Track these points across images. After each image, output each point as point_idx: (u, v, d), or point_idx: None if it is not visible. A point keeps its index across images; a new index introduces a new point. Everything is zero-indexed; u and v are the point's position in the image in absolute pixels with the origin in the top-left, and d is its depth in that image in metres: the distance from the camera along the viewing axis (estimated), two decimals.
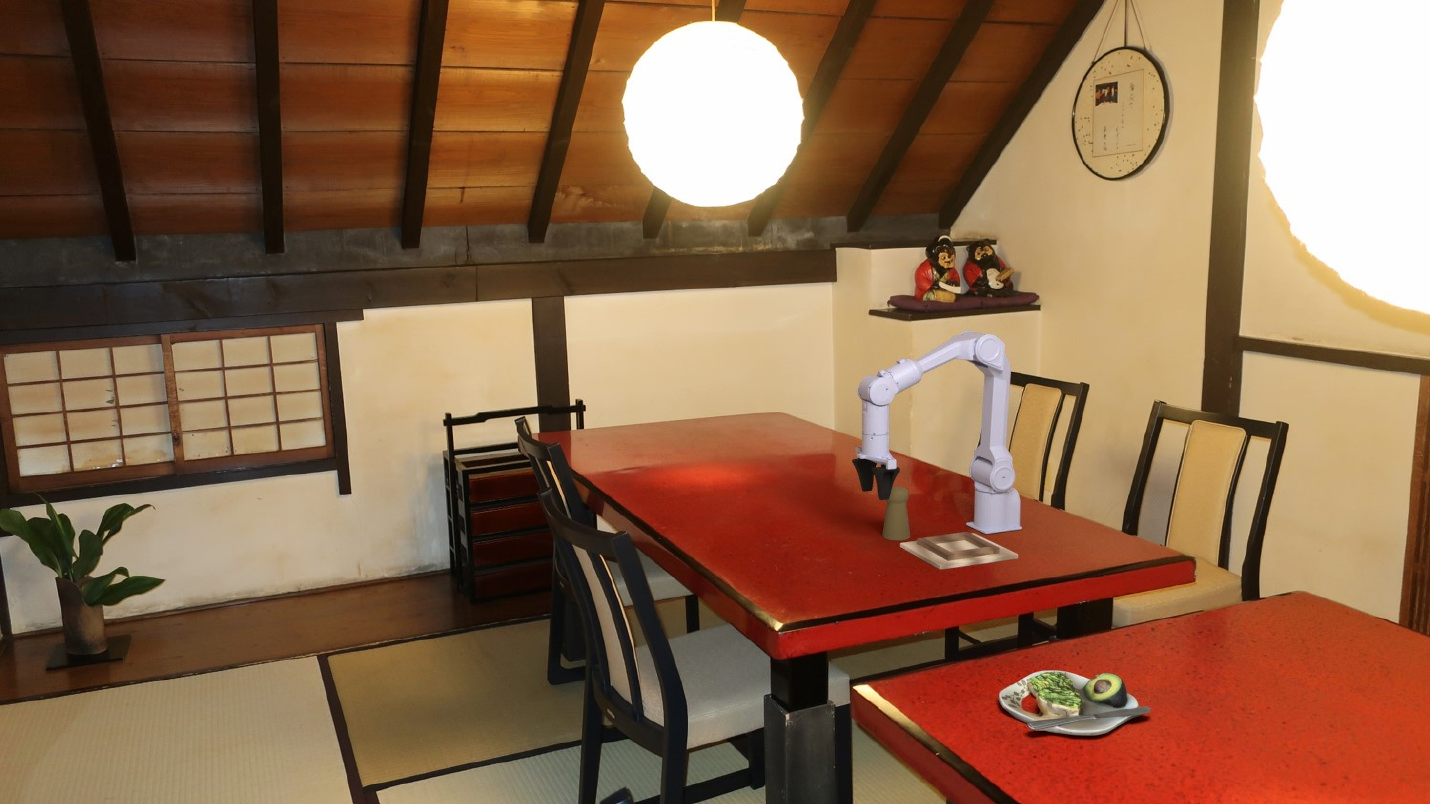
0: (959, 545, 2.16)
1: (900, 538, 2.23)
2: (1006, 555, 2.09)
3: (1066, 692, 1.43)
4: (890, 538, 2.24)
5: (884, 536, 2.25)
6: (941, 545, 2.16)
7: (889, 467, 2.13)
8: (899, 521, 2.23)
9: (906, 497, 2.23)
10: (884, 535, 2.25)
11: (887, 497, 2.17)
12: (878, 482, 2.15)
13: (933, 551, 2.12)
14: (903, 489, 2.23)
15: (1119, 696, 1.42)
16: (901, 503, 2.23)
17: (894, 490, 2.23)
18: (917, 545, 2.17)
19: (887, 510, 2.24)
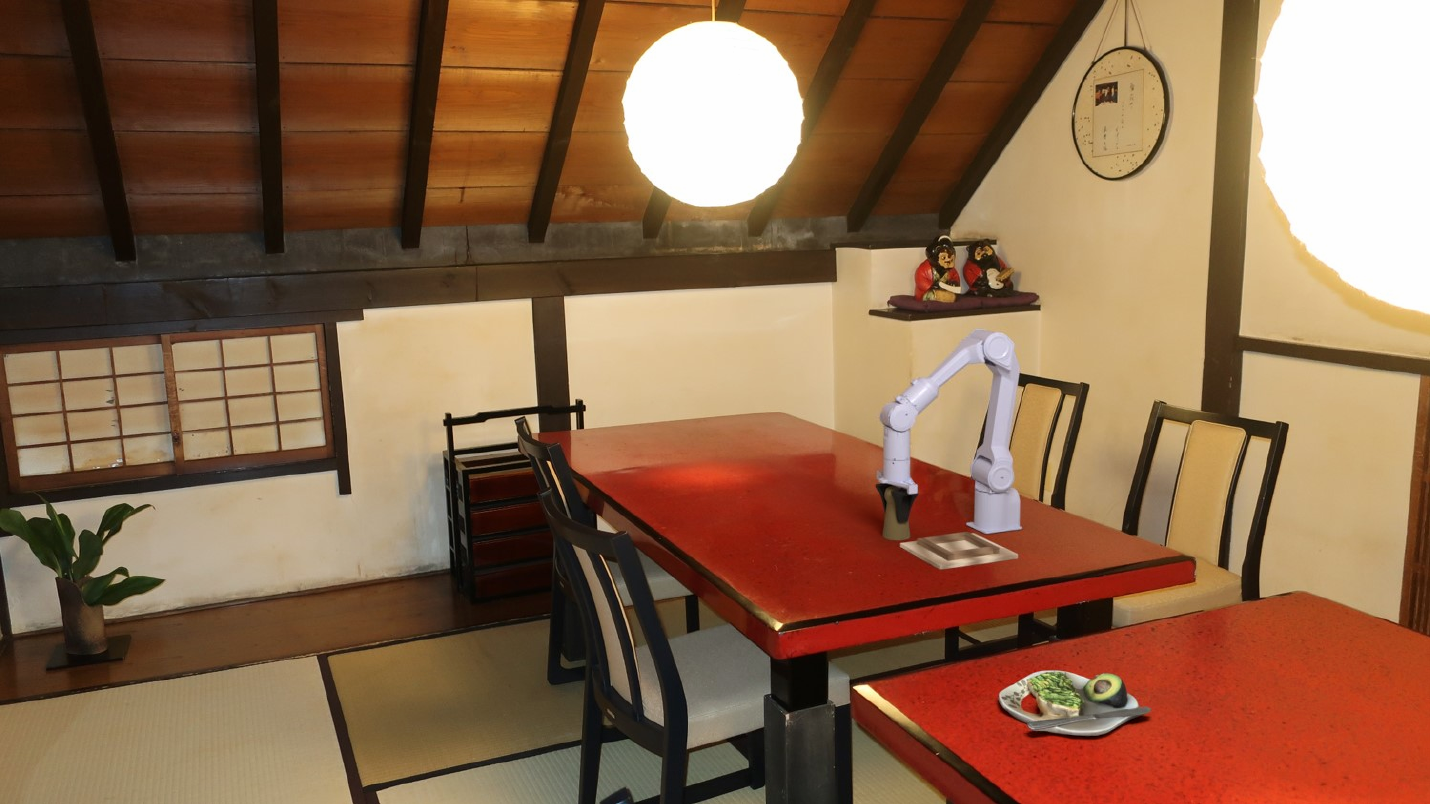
0: (959, 545, 2.16)
1: (900, 538, 2.23)
2: (1006, 555, 2.09)
3: (1066, 692, 1.43)
4: (890, 538, 2.24)
5: (884, 536, 2.25)
6: (941, 545, 2.16)
7: (910, 492, 2.17)
8: None
9: None
10: (884, 535, 2.25)
11: (906, 520, 2.23)
12: (897, 505, 2.21)
13: (933, 551, 2.12)
14: None
15: (1118, 696, 1.42)
16: None
17: (894, 490, 2.23)
18: (917, 545, 2.17)
19: (887, 510, 2.24)
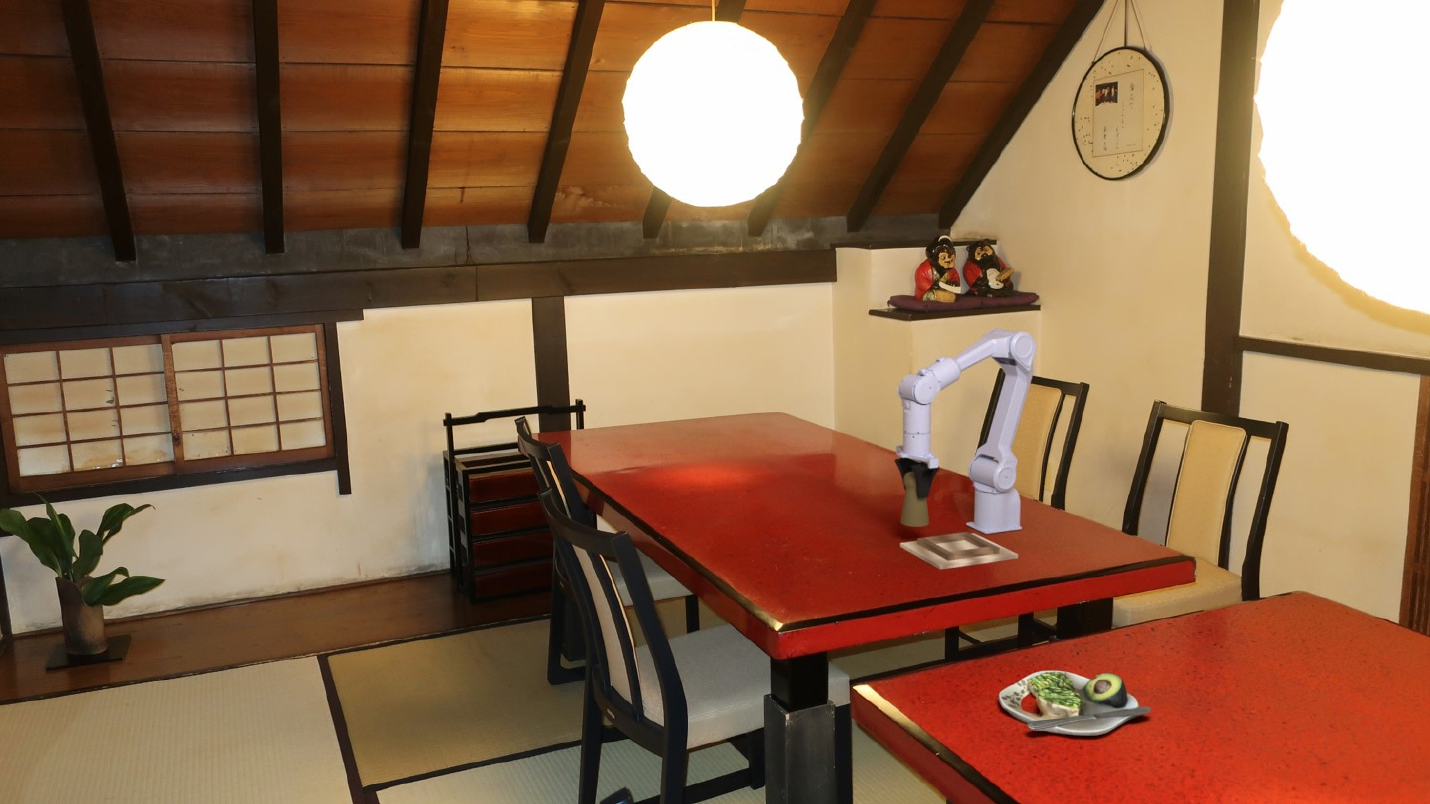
0: (959, 545, 2.16)
1: (918, 524, 2.19)
2: (1006, 555, 2.09)
3: (1066, 692, 1.43)
4: (908, 524, 2.19)
5: (902, 522, 2.21)
6: (941, 545, 2.16)
7: (931, 466, 2.12)
8: (917, 507, 2.18)
9: None
10: (902, 521, 2.21)
11: (926, 495, 2.18)
12: (917, 480, 2.16)
13: (933, 551, 2.12)
14: None
15: (1118, 696, 1.42)
16: None
17: (913, 475, 2.18)
18: (917, 545, 2.17)
19: (905, 496, 2.20)
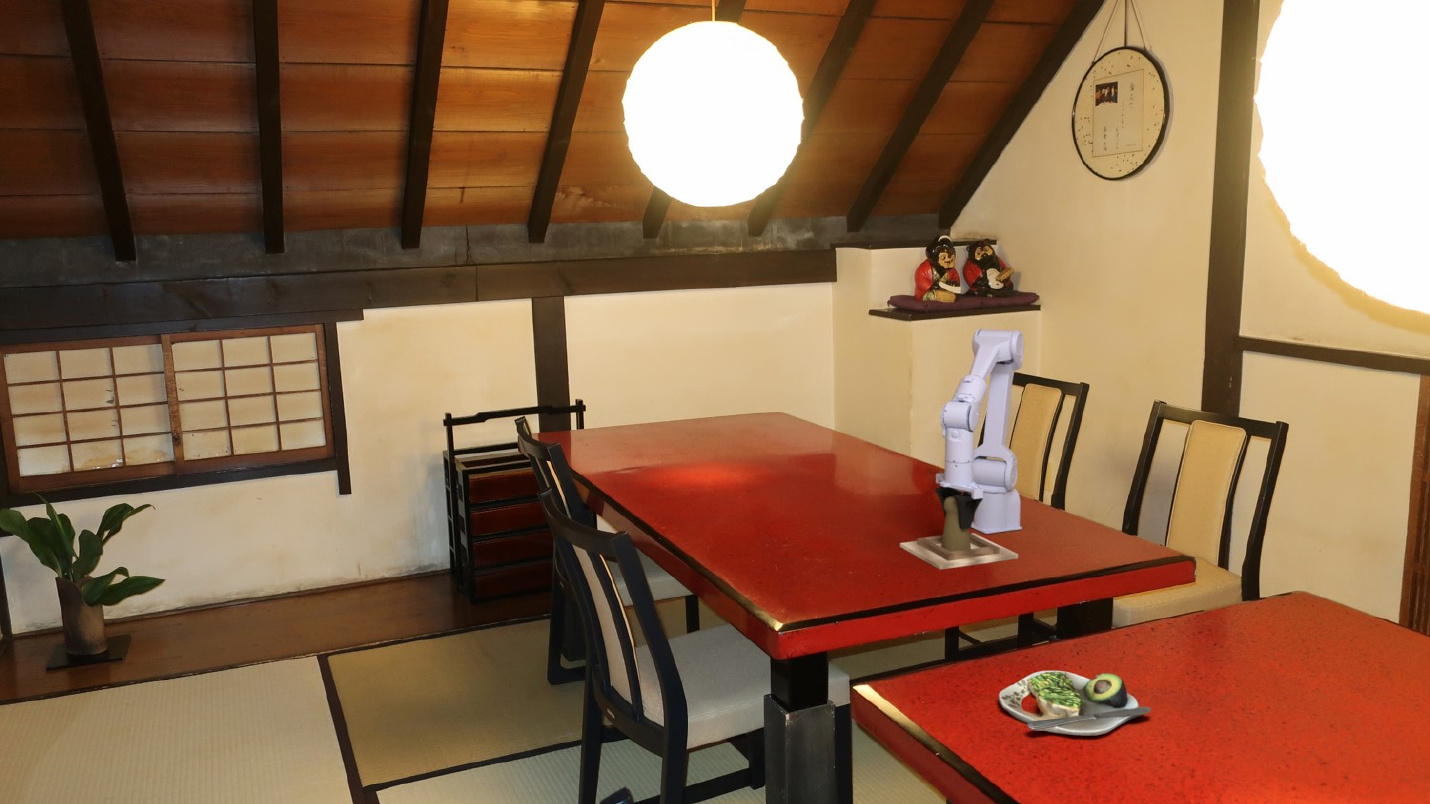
0: None
1: None
2: (1006, 555, 2.09)
3: (1066, 692, 1.43)
4: None
5: None
6: None
7: (975, 497, 2.05)
8: (959, 533, 2.11)
9: None
10: (943, 547, 2.13)
11: (969, 526, 2.10)
12: (960, 510, 2.08)
13: (933, 551, 2.12)
14: None
15: (1119, 696, 1.42)
16: None
17: (954, 500, 2.10)
18: (917, 545, 2.17)
19: (946, 521, 2.12)
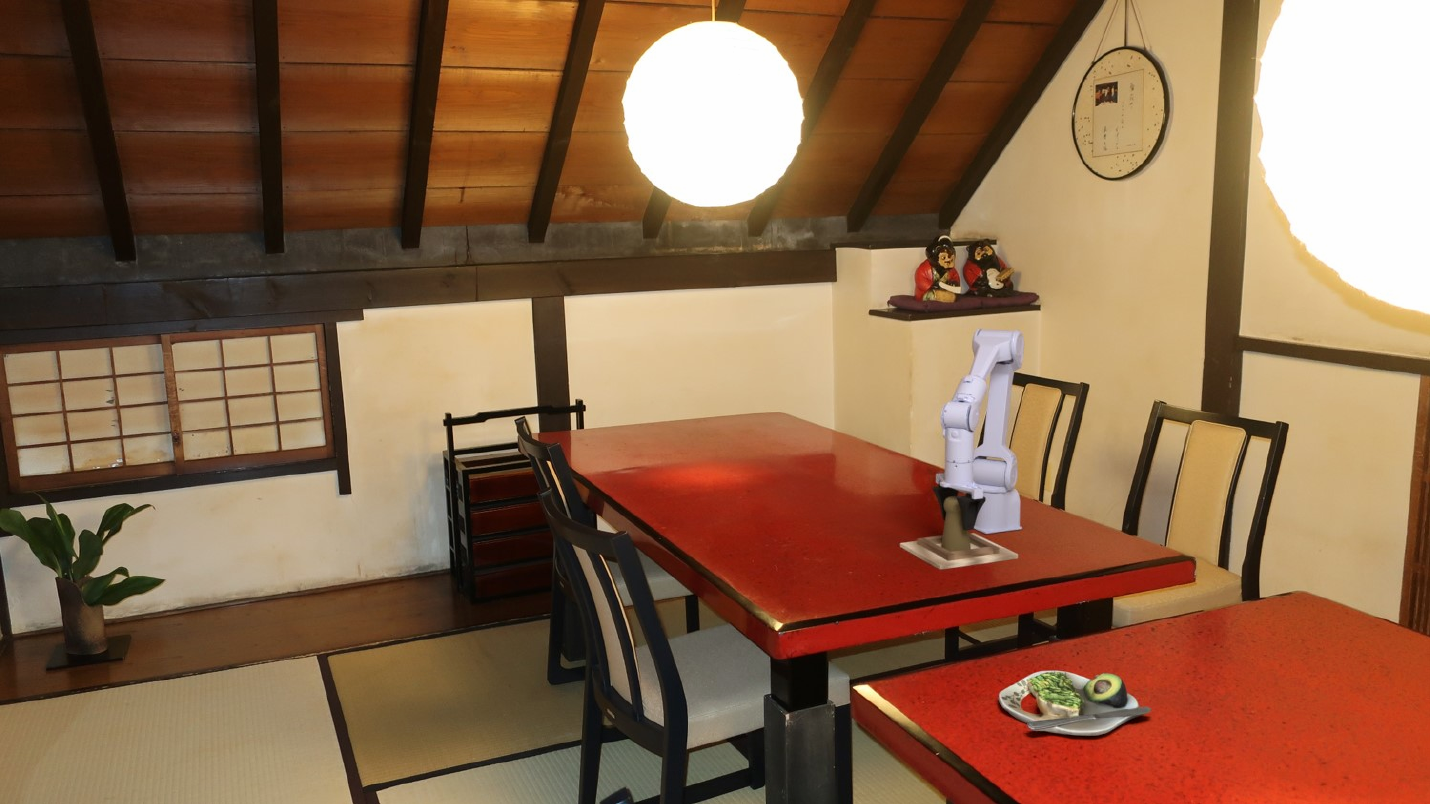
0: None
1: None
2: (1006, 555, 2.09)
3: (1066, 692, 1.43)
4: None
5: None
6: None
7: (975, 497, 2.05)
8: (959, 533, 2.11)
9: None
10: (943, 547, 2.13)
11: (972, 527, 2.09)
12: (963, 511, 2.08)
13: (933, 551, 2.12)
14: None
15: (1118, 696, 1.42)
16: None
17: (954, 500, 2.11)
18: (917, 545, 2.17)
19: (946, 521, 2.12)
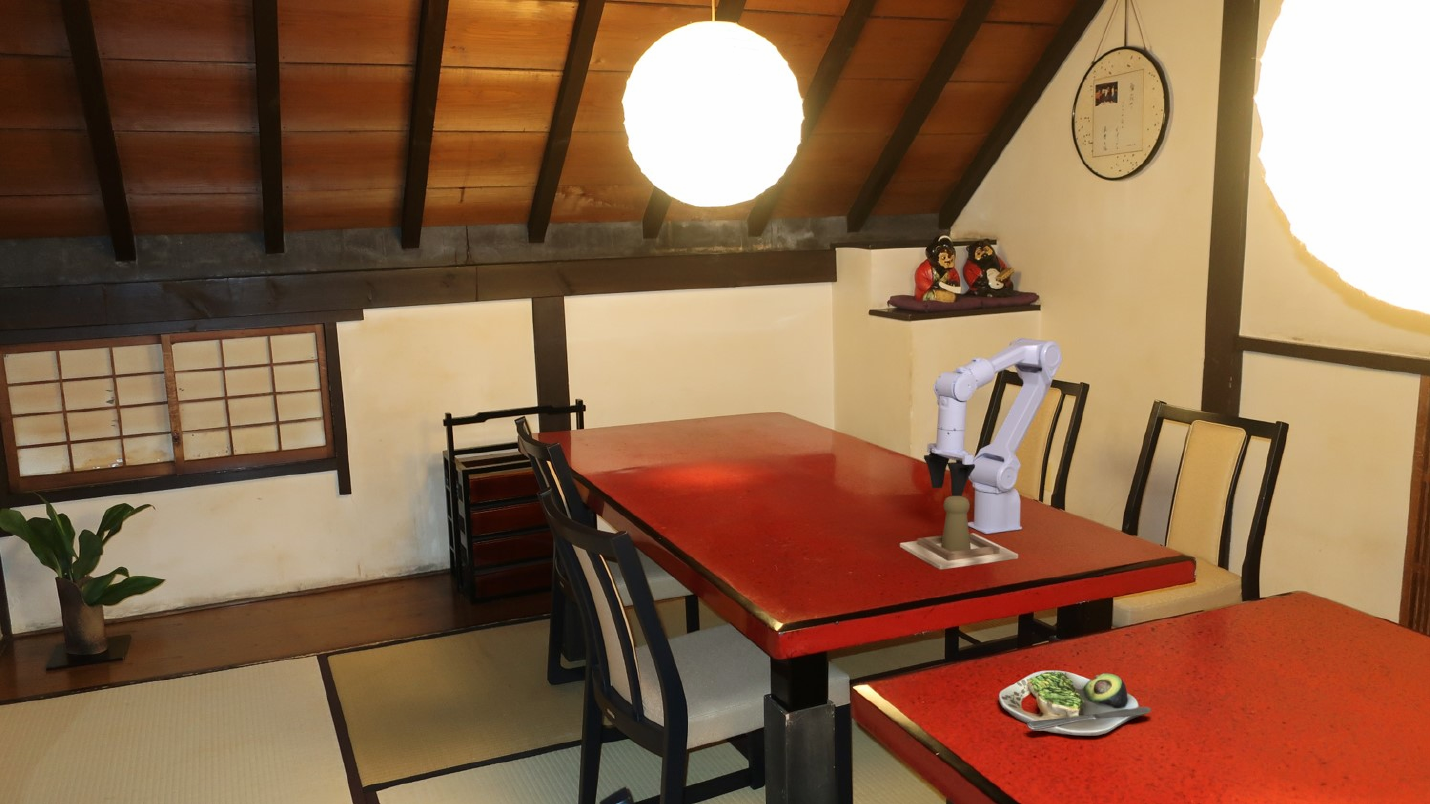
0: None
1: None
2: (1006, 555, 2.09)
3: (1066, 692, 1.43)
4: None
5: None
6: None
7: (966, 462, 2.14)
8: (959, 533, 2.11)
9: (966, 508, 2.10)
10: (943, 547, 2.13)
11: (960, 493, 2.18)
12: (953, 477, 2.16)
13: (933, 551, 2.12)
14: (964, 499, 2.11)
15: (1119, 696, 1.42)
16: (962, 514, 2.11)
17: (954, 500, 2.11)
18: (917, 545, 2.17)
19: (946, 521, 2.12)
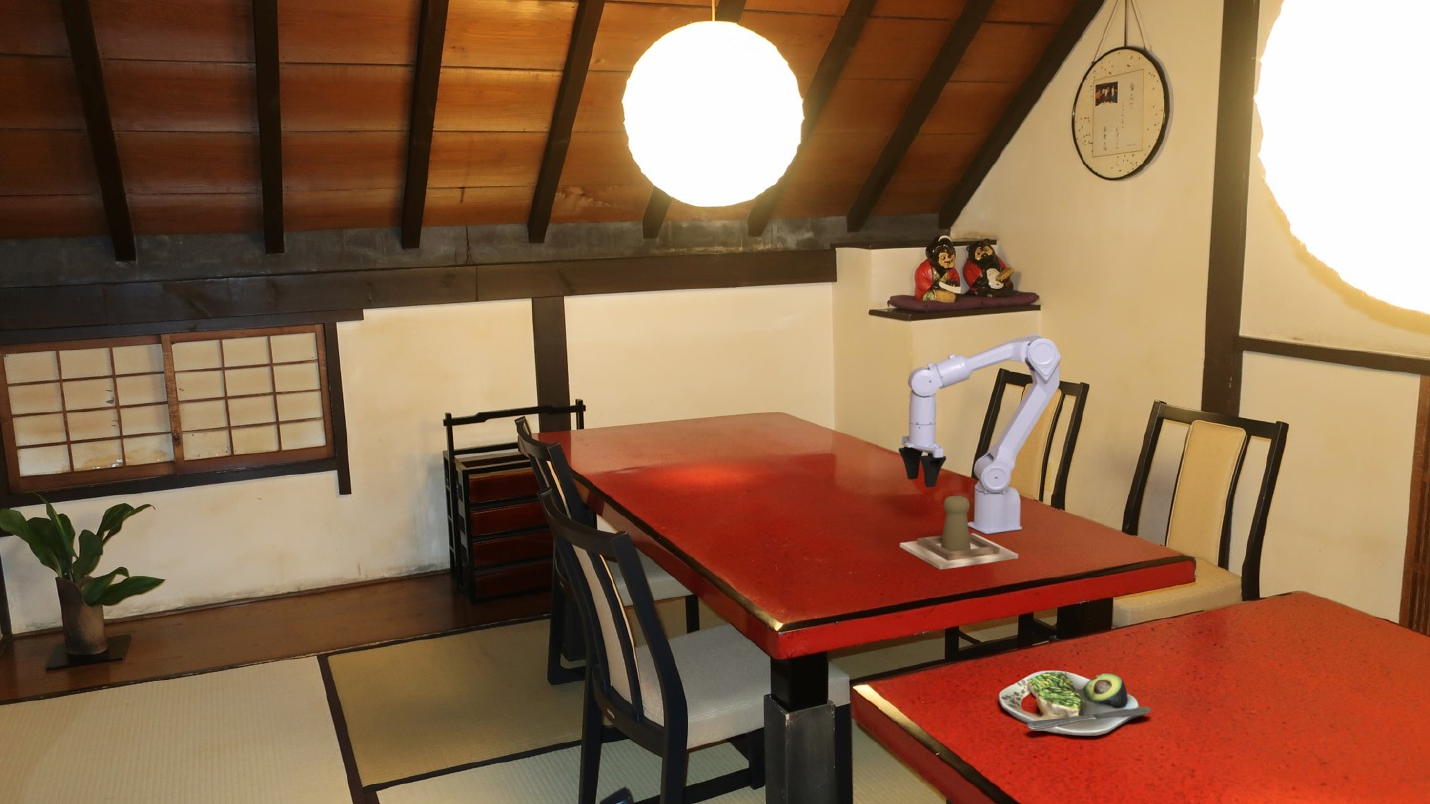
0: None
1: None
2: (1006, 555, 2.09)
3: (1066, 692, 1.43)
4: None
5: None
6: None
7: (936, 455, 2.22)
8: (959, 533, 2.11)
9: (966, 508, 2.10)
10: (943, 547, 2.13)
11: (933, 484, 2.26)
12: (925, 469, 2.24)
13: (933, 551, 2.12)
14: (964, 499, 2.11)
15: (1119, 696, 1.42)
16: (962, 514, 2.11)
17: (954, 500, 2.11)
18: (917, 545, 2.17)
19: (946, 521, 2.12)
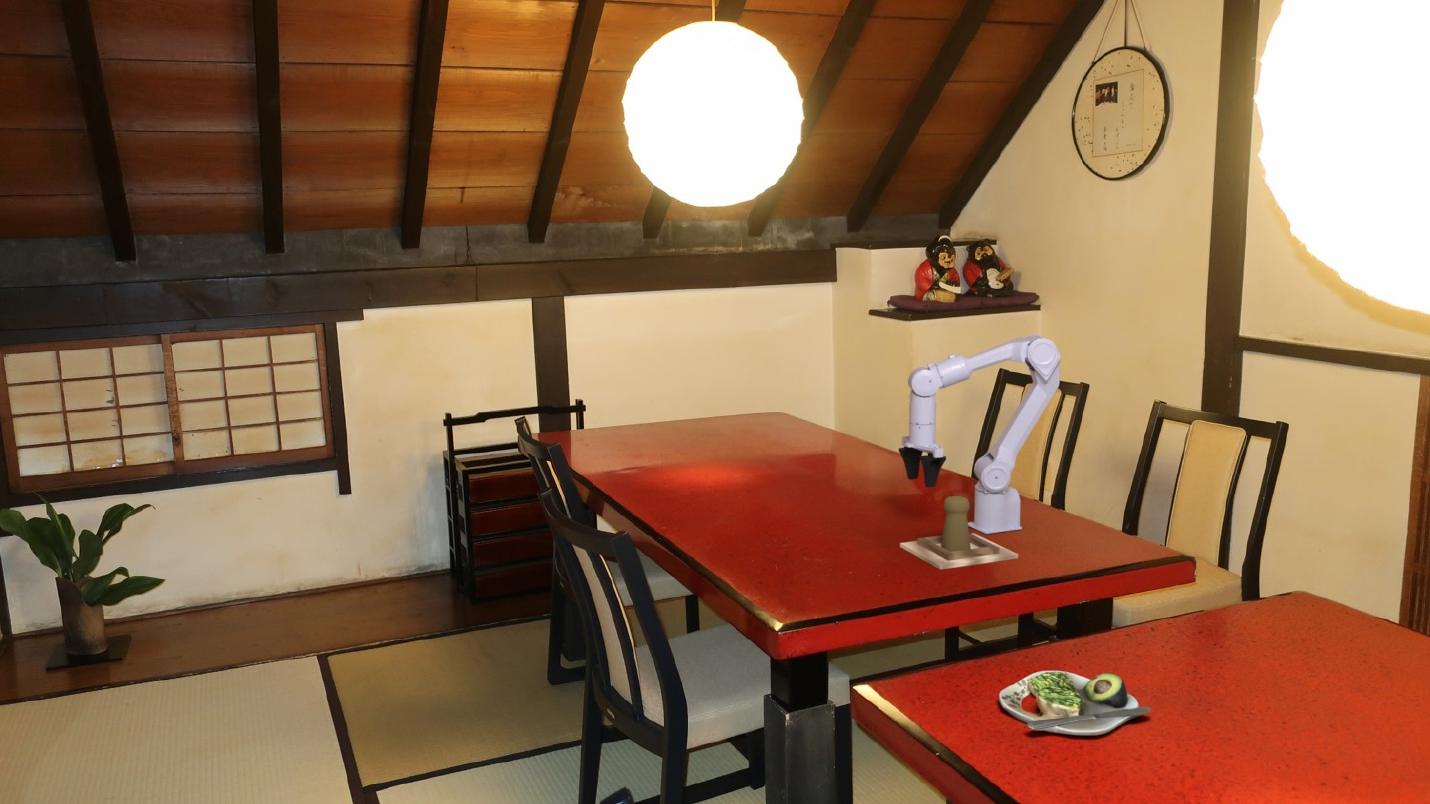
0: None
1: None
2: (1006, 555, 2.09)
3: (1066, 692, 1.43)
4: None
5: None
6: None
7: (936, 455, 2.22)
8: (959, 533, 2.11)
9: (966, 508, 2.10)
10: (943, 547, 2.13)
11: (933, 484, 2.26)
12: (925, 469, 2.24)
13: (933, 551, 2.12)
14: (964, 499, 2.11)
15: (1119, 696, 1.42)
16: (962, 514, 2.11)
17: (954, 500, 2.11)
18: (917, 545, 2.17)
19: (946, 521, 2.12)
